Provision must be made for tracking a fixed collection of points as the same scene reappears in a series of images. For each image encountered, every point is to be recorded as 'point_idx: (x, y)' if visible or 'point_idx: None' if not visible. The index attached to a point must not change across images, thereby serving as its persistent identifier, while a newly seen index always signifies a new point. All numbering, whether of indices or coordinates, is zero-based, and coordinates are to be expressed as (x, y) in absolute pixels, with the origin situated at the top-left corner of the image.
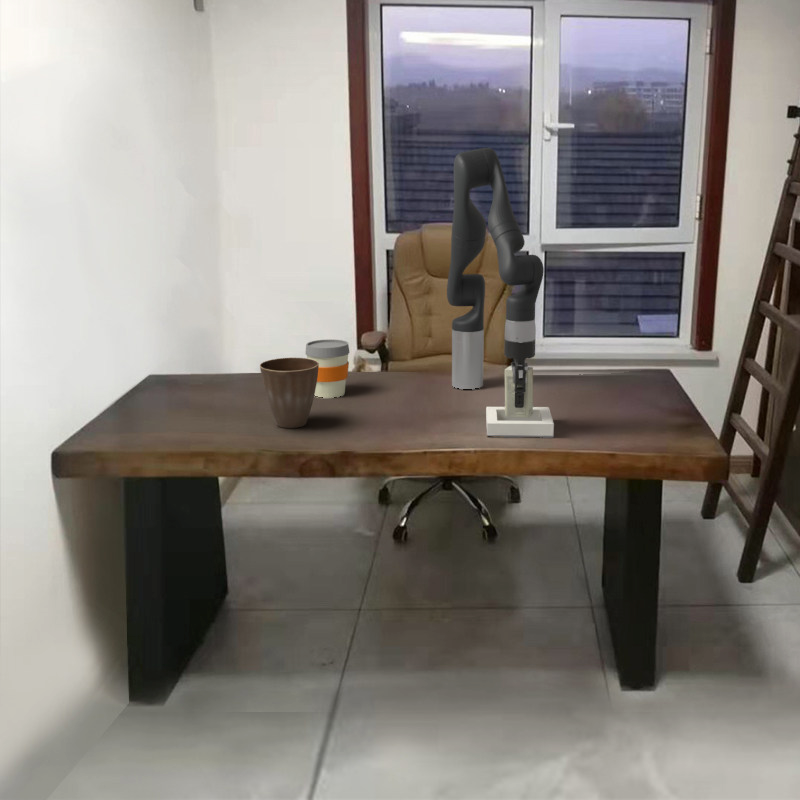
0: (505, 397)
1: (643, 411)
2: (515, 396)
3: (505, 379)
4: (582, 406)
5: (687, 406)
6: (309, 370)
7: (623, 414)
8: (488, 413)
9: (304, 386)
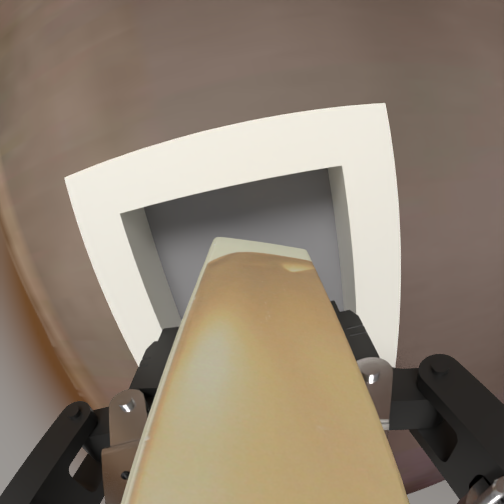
0: (195, 289)
1: (422, 465)
2: (147, 373)
3: (152, 408)
4: (483, 383)
5: (433, 484)
6: None
7: (410, 454)
8: (243, 133)
9: None
